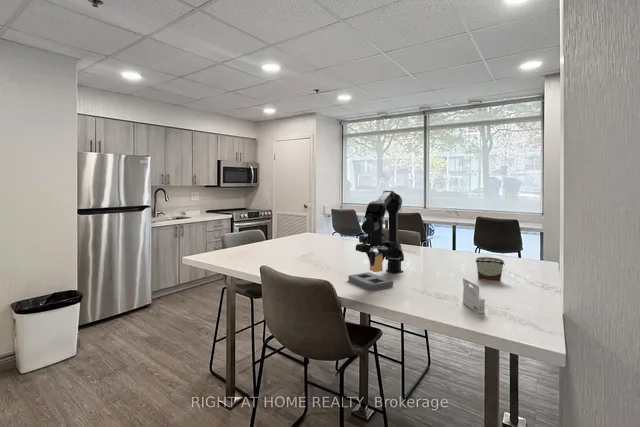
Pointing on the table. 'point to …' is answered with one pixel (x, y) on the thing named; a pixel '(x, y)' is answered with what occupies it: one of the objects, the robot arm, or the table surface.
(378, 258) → the plug
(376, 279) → the socket plate
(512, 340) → the table surface
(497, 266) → the food container
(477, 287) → the ink cartridge box
